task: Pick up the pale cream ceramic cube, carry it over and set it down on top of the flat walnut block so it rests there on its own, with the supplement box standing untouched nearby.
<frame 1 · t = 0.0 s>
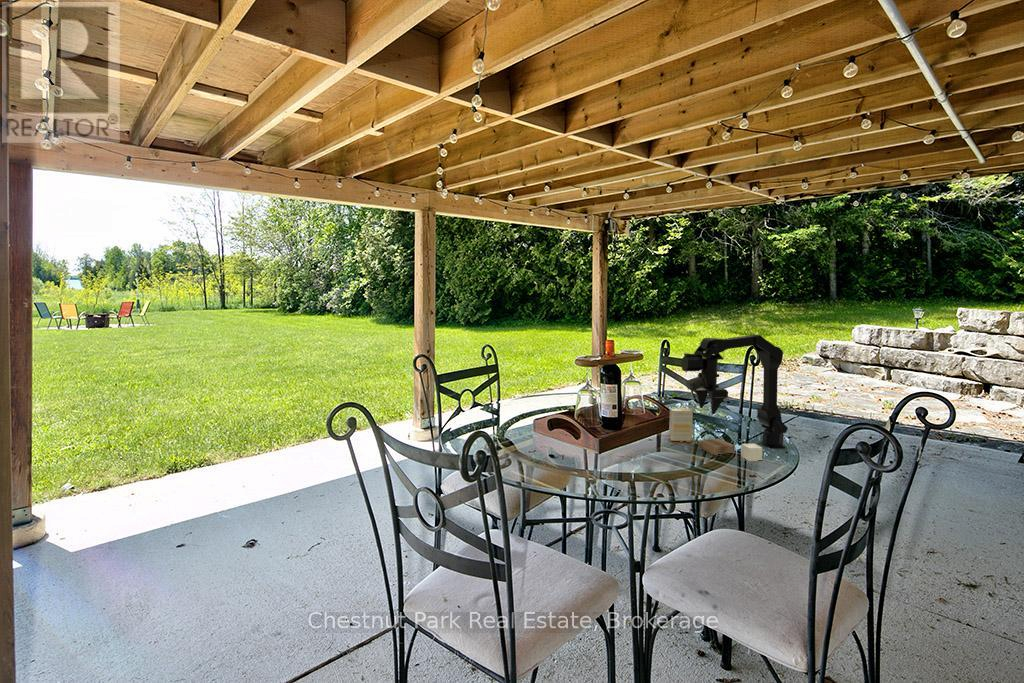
hand: (707, 410, 197), 15 cm above the table, tool pointing down, fingers open, 9 cm apart
walnut block: (716, 451, 195), on the table
cube: (751, 459, 186), on the table
supplement box: (679, 441, 208), on the table
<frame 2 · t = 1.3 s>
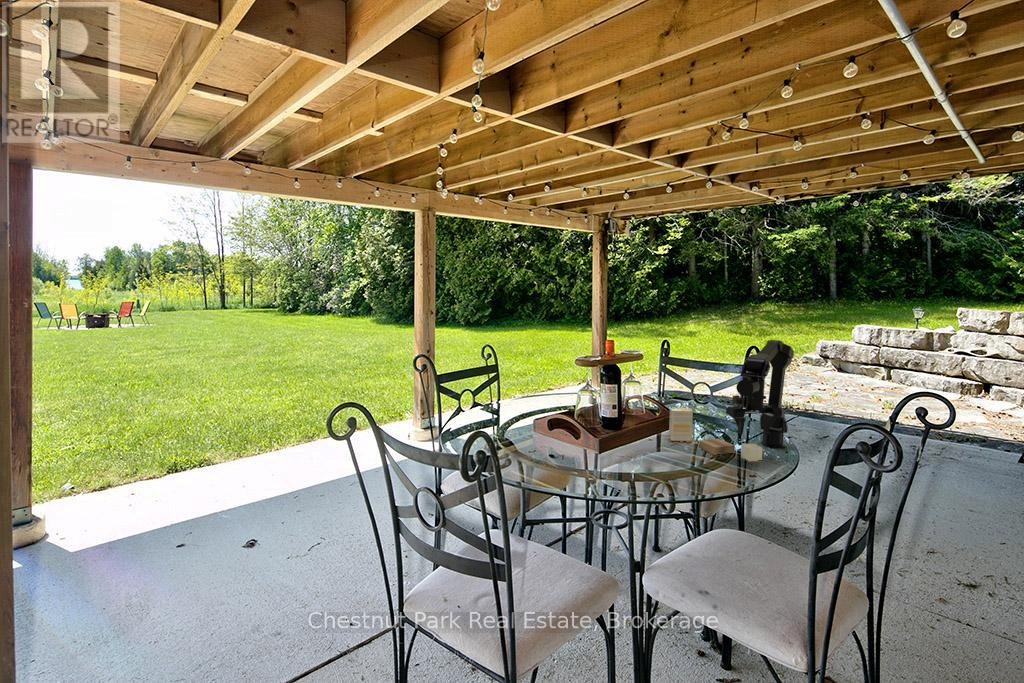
hand: (752, 434, 185), 9 cm above the table, tool pointing down, fingers open, 9 cm apart
nothing on the table moved.
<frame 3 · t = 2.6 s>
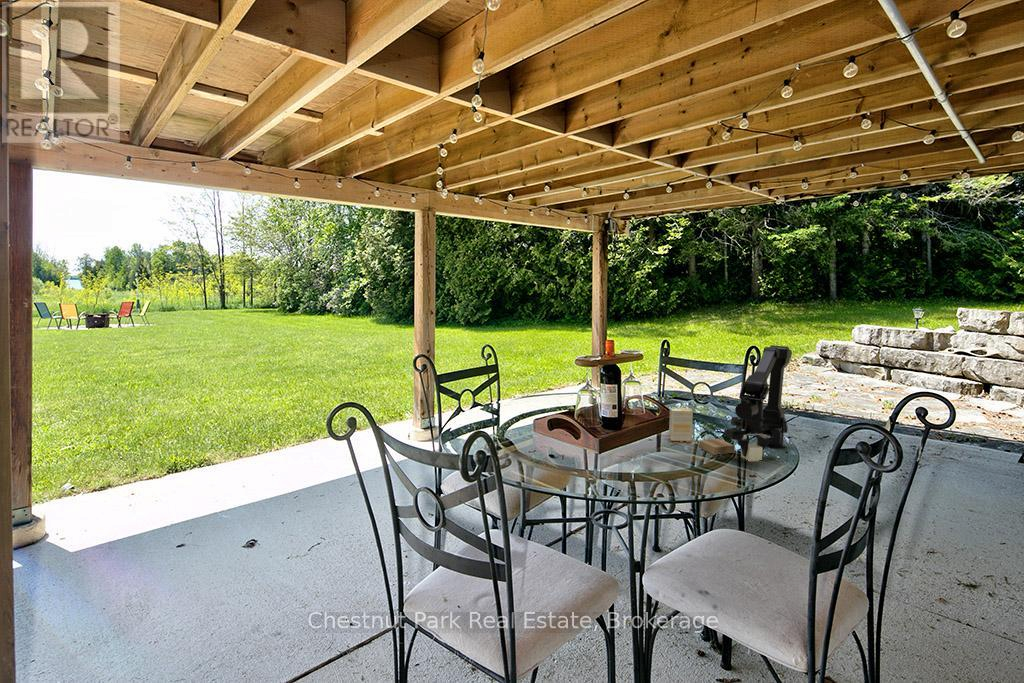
hand: (751, 456, 186), 1 cm above the table, tool pointing down, fingers closed on cube, 5 cm apart
cube: (751, 458, 186), on the table, touching gripper
everything else where it was.
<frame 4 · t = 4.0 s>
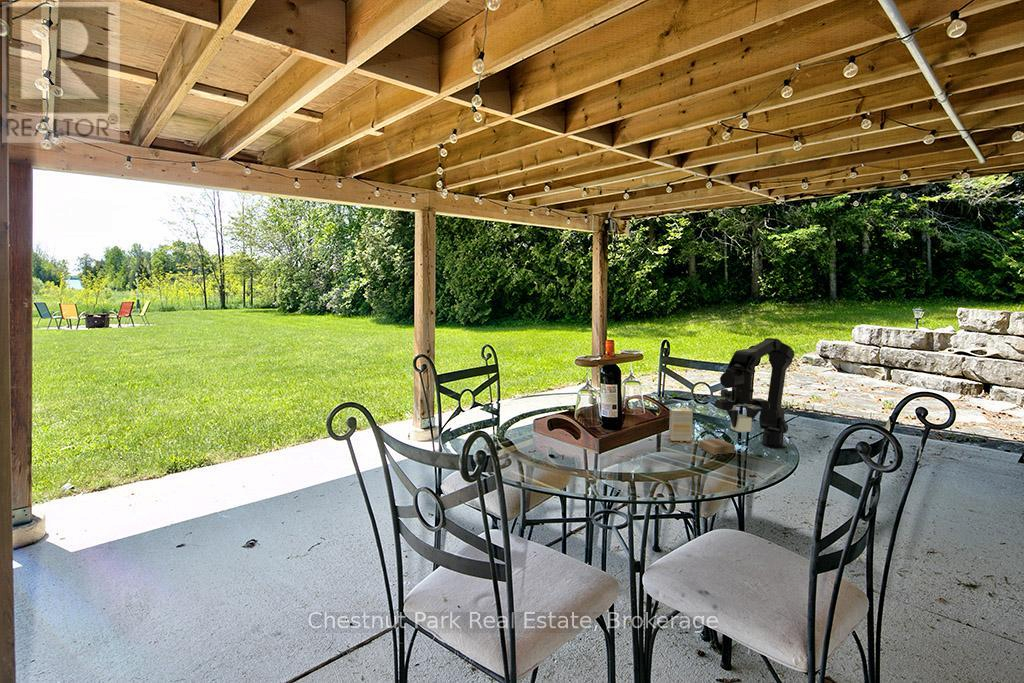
hand: (740, 427, 188), 11 cm above the table, tool pointing down, fingers closed on cube, 5 cm apart
cube: (740, 429, 188), point 10 cm above the table, touching gripper
everything else where it was.
when the fingers open (6 cm above the table, at t = 5.7 s): cube drops 2 cm, resting on walnut block.
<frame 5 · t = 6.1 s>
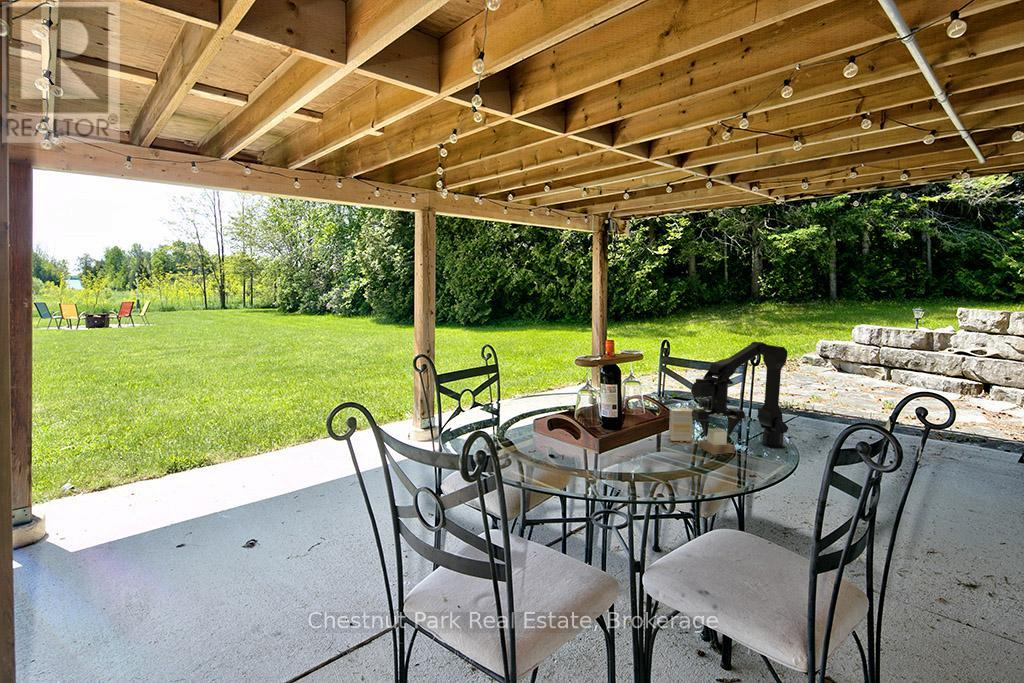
hand: (717, 436, 194), 6 cm above the table, tool pointing down, fingers open, 9 cm apart
walnut block: (716, 451, 195), on the table, touching cube
cube: (716, 443, 194), point 3 cm above the table, touching walnut block
everything else where it was.
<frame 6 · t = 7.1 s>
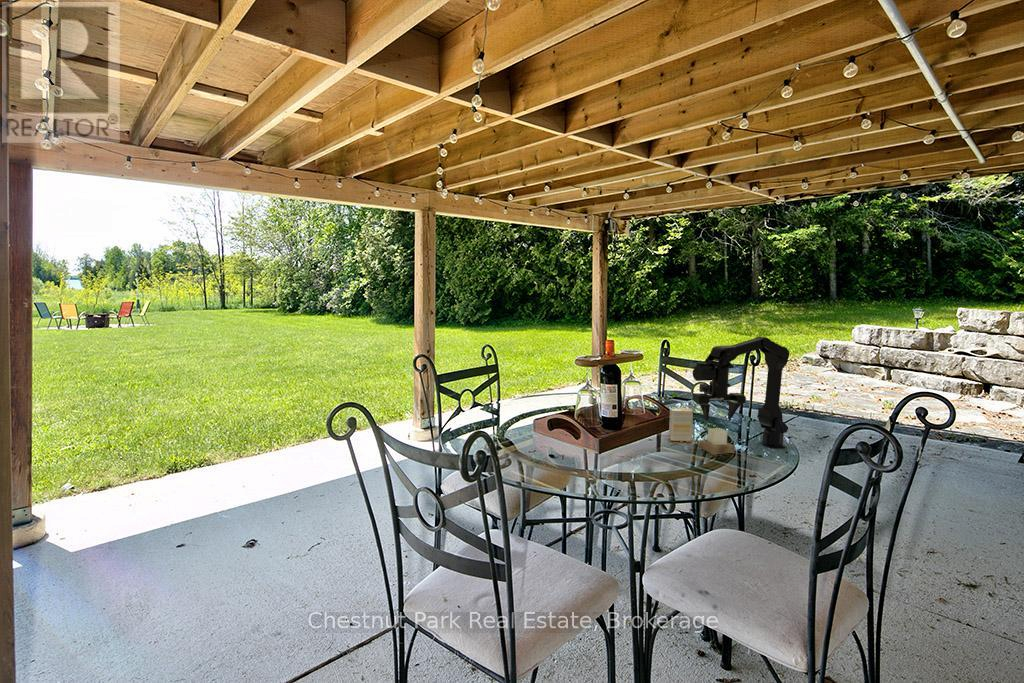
hand: (717, 420, 194), 12 cm above the table, tool pointing down, fingers open, 9 cm apart
walnut block: (716, 452, 195), on the table
cube: (716, 442, 195), point 3 cm above the table
everything else where it was.
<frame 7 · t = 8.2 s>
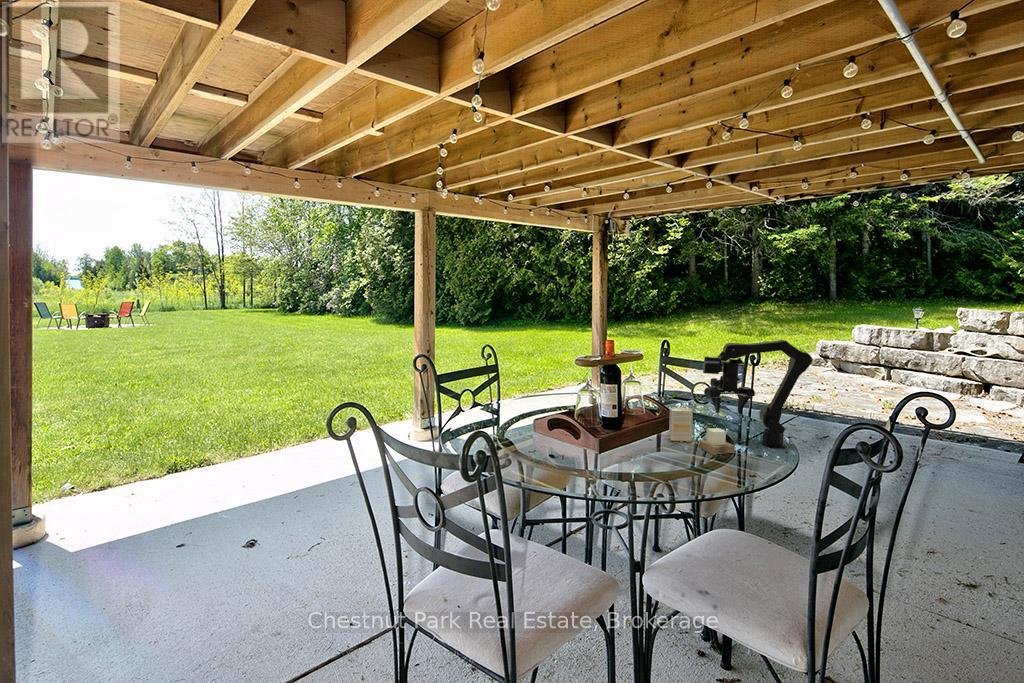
hand: (728, 413, 205), 12 cm above the table, tool pointing down, fingers open, 9 cm apart
nothing on the table moved.
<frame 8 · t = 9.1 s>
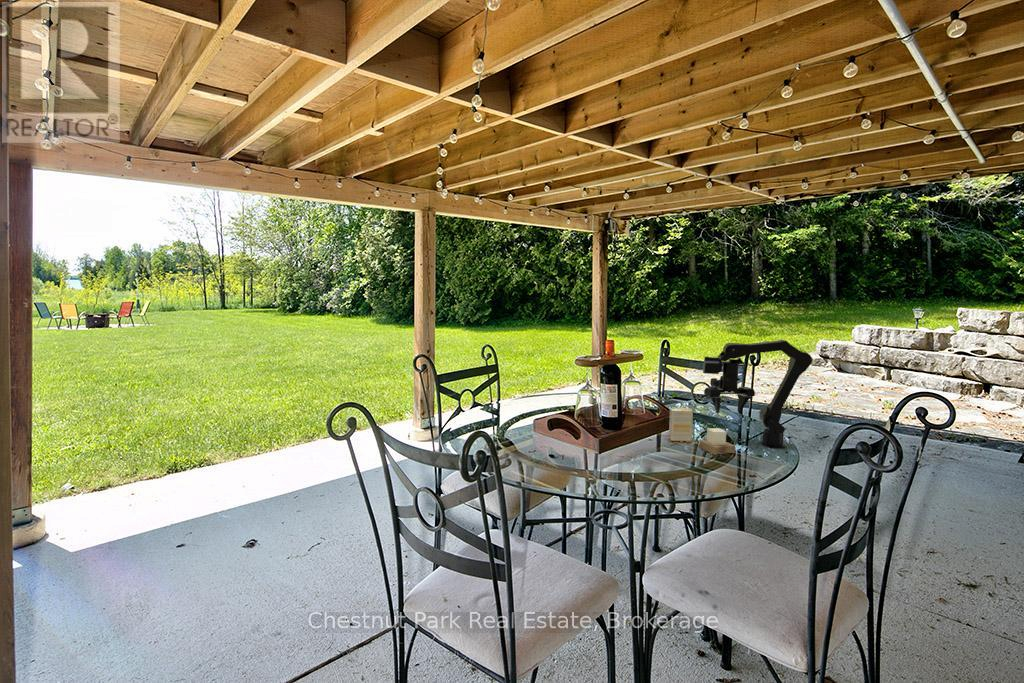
hand: (728, 412, 205), 12 cm above the table, tool pointing down, fingers open, 9 cm apart
walnut block: (716, 451, 195), on the table, touching cube
cube: (715, 442, 194), point 3 cm above the table, touching walnut block
everything else where it was.
at the end: cube 0.5 cm off-centre on the walnut block, point 3.5 cm above the walnut block's base; the gripper is holding nothing; cube tilted 0° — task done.
